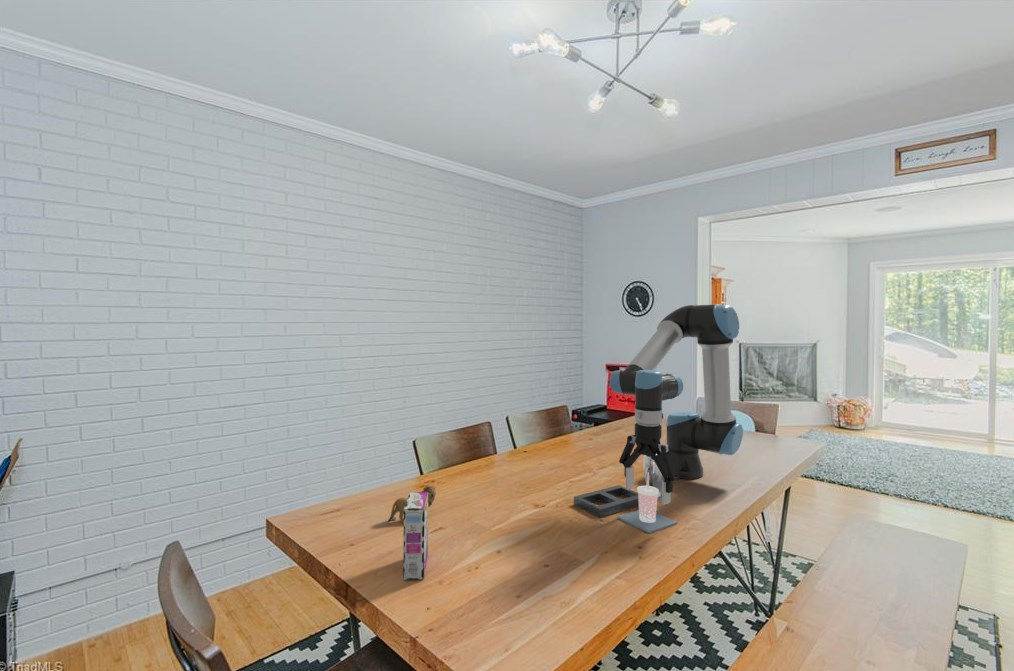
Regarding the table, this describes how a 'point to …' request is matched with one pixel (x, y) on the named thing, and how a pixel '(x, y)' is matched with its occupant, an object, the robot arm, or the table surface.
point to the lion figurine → (402, 501)
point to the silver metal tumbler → (653, 474)
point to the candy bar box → (415, 536)
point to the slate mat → (644, 526)
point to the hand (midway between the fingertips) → (647, 495)
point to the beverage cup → (647, 502)
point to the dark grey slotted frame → (607, 501)
